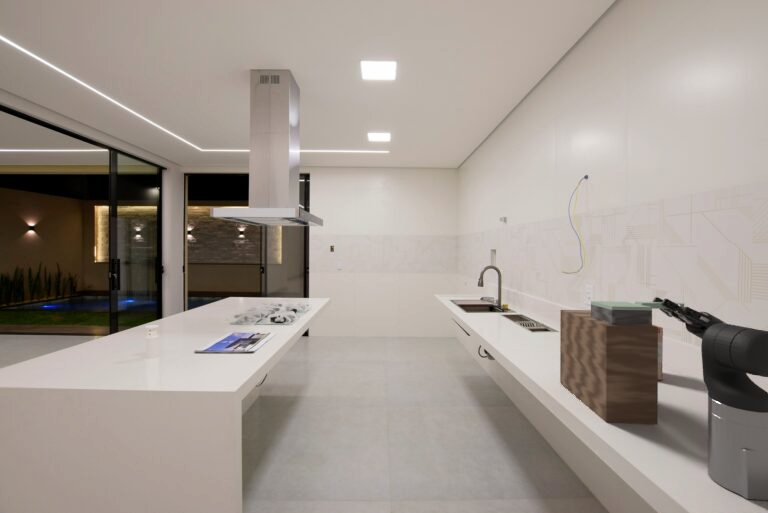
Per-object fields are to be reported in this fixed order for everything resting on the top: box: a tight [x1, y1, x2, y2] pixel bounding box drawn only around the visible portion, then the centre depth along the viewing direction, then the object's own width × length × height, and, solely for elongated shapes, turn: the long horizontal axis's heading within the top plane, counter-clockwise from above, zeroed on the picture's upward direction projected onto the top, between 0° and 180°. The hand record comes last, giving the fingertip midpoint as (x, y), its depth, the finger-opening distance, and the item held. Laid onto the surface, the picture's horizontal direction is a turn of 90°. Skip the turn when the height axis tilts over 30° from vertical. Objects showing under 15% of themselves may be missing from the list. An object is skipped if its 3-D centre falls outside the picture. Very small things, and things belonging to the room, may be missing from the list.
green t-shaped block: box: [590, 300, 685, 311], centre depth 98 cm, size 11×23×3 cm, turn 85°
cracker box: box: [652, 324, 664, 381], centre depth 130 cm, size 14×6×21 cm, turn 168°
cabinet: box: [559, 303, 659, 426], centre depth 105 cm, size 28×14×32 cm, turn 175°
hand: (659, 300), depth 97 cm, fingers closed on green t-shaped block, 3 cm apart
